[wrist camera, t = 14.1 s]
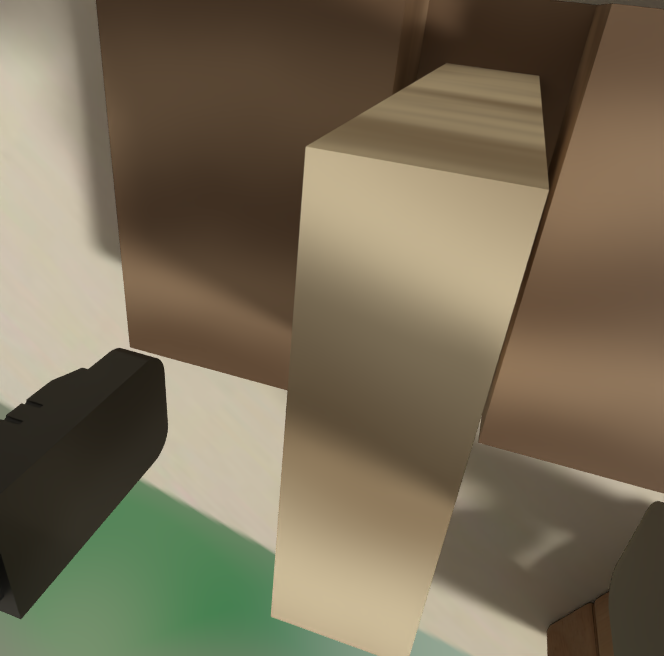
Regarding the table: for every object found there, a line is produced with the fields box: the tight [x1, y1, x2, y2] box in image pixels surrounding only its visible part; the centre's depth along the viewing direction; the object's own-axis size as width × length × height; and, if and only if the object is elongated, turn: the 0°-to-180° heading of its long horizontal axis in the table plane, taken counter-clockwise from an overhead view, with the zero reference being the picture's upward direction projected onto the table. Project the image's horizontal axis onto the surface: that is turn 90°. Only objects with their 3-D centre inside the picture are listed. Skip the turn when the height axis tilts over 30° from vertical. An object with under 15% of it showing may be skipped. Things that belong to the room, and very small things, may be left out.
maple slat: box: [271, 63, 549, 656], centre depth 15 cm, size 10×3×14 cm, turn 174°
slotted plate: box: [96, 0, 664, 493], centre depth 20 cm, size 14×24×5 cm, turn 84°
